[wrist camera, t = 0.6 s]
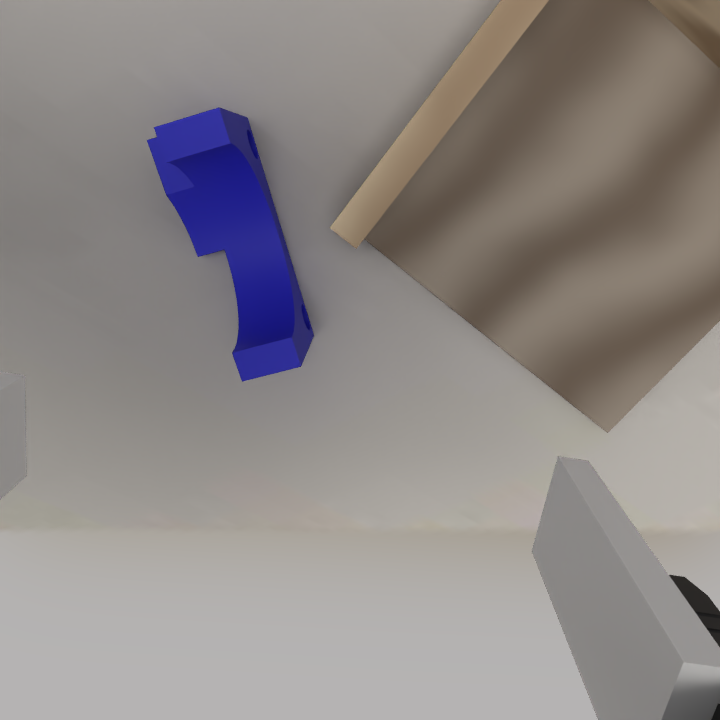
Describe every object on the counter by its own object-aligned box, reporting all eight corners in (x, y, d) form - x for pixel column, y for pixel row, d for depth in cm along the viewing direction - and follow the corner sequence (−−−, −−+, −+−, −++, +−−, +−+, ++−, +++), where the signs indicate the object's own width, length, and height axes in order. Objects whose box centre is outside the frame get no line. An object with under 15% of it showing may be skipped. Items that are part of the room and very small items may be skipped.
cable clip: (167, 142, 33) (121, 137, 27) (248, 117, 32) (219, 107, 27) (240, 353, 36) (213, 388, 30) (314, 334, 36) (300, 366, 30)
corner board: (339, 217, 33) (329, 227, 28) (582, -106, 29) (632, -174, 23) (604, 428, 36) (644, 477, 31) (864, 167, 32) (970, 167, 26)
